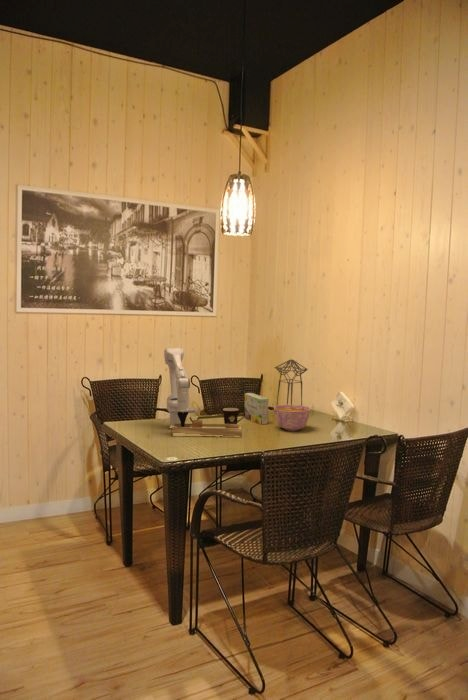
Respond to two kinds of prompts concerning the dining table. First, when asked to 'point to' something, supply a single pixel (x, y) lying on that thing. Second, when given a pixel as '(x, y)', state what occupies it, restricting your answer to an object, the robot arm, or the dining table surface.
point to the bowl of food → (292, 416)
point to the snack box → (256, 408)
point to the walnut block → (197, 424)
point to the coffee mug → (231, 415)
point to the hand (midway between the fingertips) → (182, 426)
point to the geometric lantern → (289, 377)
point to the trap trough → (209, 429)
